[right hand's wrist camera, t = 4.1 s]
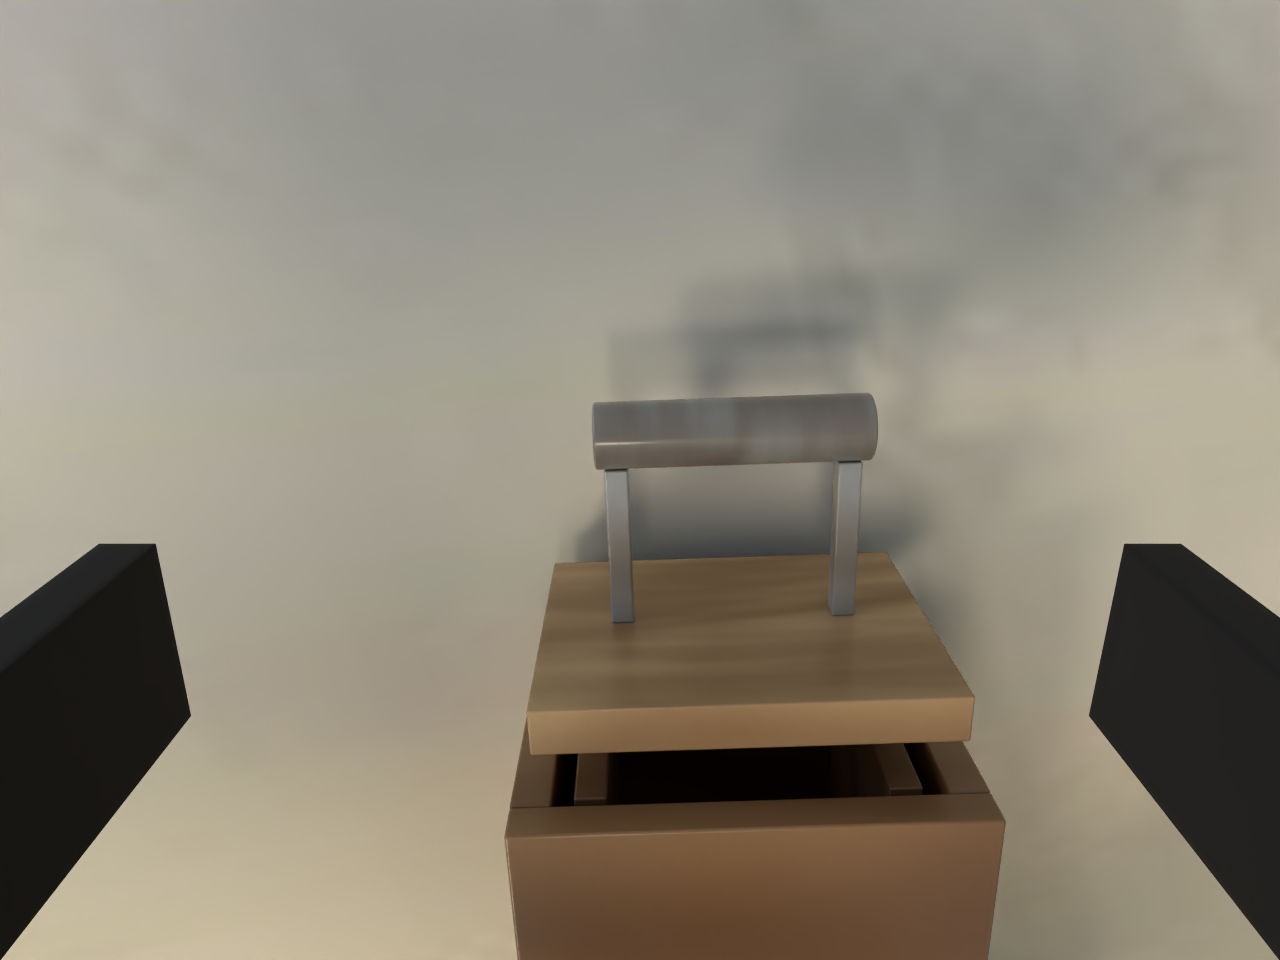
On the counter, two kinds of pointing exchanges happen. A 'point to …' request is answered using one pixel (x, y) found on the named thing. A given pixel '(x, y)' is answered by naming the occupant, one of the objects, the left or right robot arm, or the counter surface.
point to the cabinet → (756, 871)
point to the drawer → (739, 632)
